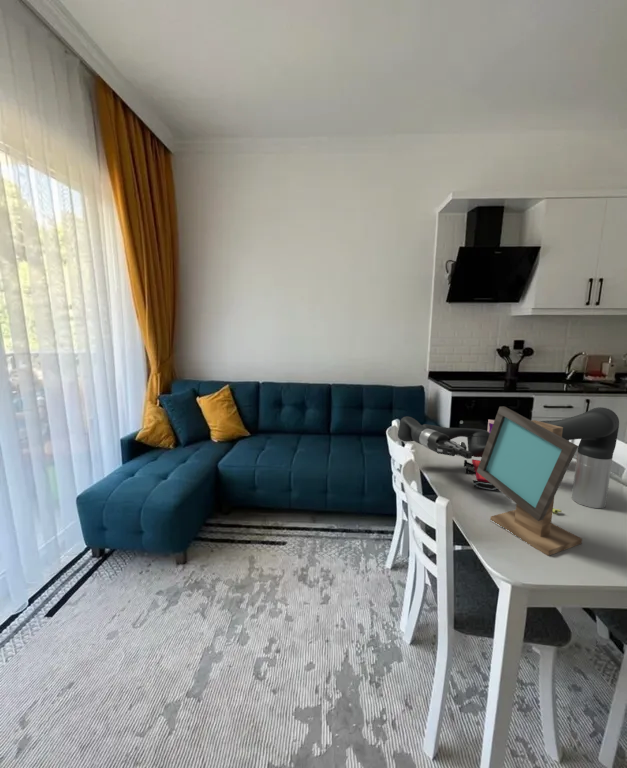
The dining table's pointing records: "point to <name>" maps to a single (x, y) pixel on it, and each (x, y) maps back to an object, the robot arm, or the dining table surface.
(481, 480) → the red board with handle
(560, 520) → the dining table surface
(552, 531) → the framed display stand
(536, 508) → the picture frame
